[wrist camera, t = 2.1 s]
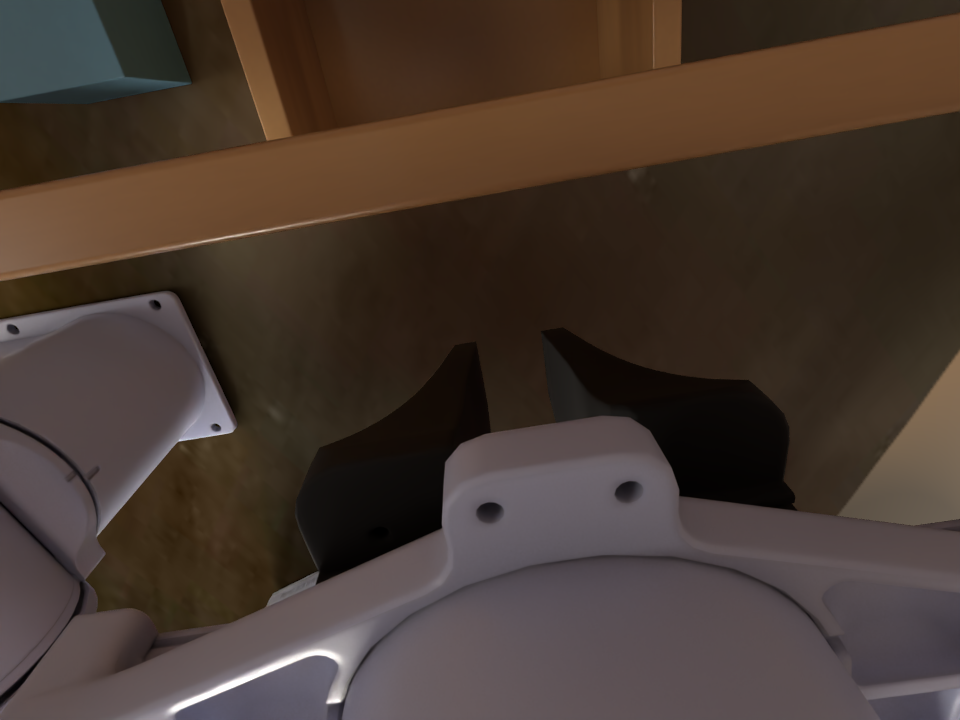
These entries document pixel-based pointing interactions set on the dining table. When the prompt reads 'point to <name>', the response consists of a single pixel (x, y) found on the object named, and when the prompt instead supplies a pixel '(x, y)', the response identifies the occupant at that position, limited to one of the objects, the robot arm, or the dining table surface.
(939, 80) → the box lid
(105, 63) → the block
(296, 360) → the dining table surface
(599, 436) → the robot arm
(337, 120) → the box
